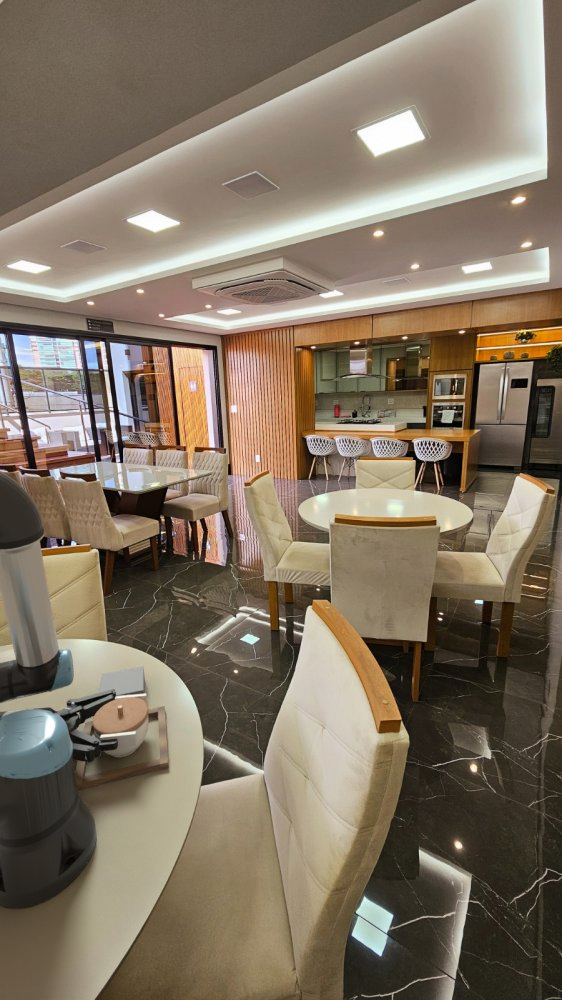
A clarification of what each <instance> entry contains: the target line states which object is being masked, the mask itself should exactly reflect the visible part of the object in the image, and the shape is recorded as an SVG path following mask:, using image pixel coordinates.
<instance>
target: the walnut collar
mask: <svg viewBox="0 0 562 1000" xmlns="http://www.w3.org/2000/svg"><path fill="white" fill-rule="evenodd" d="M151 718H157V719H158V745H159V757H158V758H155V759H152V760H148V761H143V762H138V763H133V764H130V765H126V766H121V767H117V768H113V769H111V770H105V771H101V772H97V773H94V774H89V775H86V771H87V770H86V769H87V763H88V762H85V761H79V760H76V761H77V762H76V767H75V775H76V781H77V788H78V791H79V790H82V789H86V788H87V789H88V788H90V787H95V786H99V785H102V784H107V783H110V782H115V781H118V780H122V779H127V778H132V777H135V776H140V775H144V774H147V773H151V772H155V771H160V770H162V769H163V770H164V769H166V768H167V769H168V768H169V754H168V752H169V751H168V737H167V722H166V706H165V705H162V706H157V707H153V708H148V719H151ZM93 731H94V728H93V720H91V721H85V722H84V725H83V730H82V732H83V733H86V734H88V735H90V736H92V732H93ZM85 754H86V753H85Z"/></svg>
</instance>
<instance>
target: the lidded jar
mask: <svg viewBox="0 0 562 1000" xmlns="http://www.w3.org/2000/svg"><path fill="white" fill-rule="evenodd" d="M148 709H149V705H147V704H146V702H145V701H143V700H142V699H140V698H136V697H124V698H119V699H116V700H113V701H111V702H109V703H107V704H105V705H104V706H103V707H101V708H100V709H99V710H98V711H97V712H96V714H95V715H94V716H93V717H92V721H93V728H94V730H93V731H94V737H95V738H97V739H99V740H100V736H101V735H104V734H114V733H124V732H133V731H136V736H137V746H133V747H123V748H117V749H115V750H108V751H103V752H104V753H105V754H106V755H110V756H111V757H114V758H120V759H121V758H125V757H129V756H130V755H132V754H133V753H135V752H136V751H137V750H138V748H139V747H140V746H141V745H142V744H143V742H144V740H145V738H146V737H147V733H148V730H149V719H150V718H148Z"/></svg>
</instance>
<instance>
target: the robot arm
mask: <svg viewBox="0 0 562 1000" xmlns="http://www.w3.org/2000/svg"><path fill="white" fill-rule="evenodd" d="M44 537H45V528H44V521H43V518H42V514H41V512H40V510H39V508H38V505H37V504H36V501H34V499H33V498H32V496H31V495H30V494H29V493H28V492H27V491H26V489H25V488H24V487H23V486H22V485H21V484H20V483H18V481H16V480H15V479H14V478H12V477H11V476H10V475H8V474H6V472H3V471H2V470H0V598H1V601H2V605H3V610H4V613H5V618H6V622H7V628H8V630H9V631H8V632H9V636H10V641H11V643H12V648H13V653H14V656H15V659H13V660H8V661H7V660H6V661H3V662H0V704H2V703H6V702H10V701H14V700H18V699H23V698H26V697H31V696H35V695H39V694H44V693H49V692H50V693H51V692H53V691H56V690H59V689H63V688H65V687H69V686H70V685H72V684H73V681H74V676H75V673H74V658H73V653H72V651H71V649H69V648H59V642H58V637H57V630H56V625H55V620H54V614H53V609H52V608H53V607H52V604H51V603H52V602H51V597H50V591H49V586H48V580H47V575H46V569H45V563H44V559H43V552H42V547H41V541H42V539H43V538H44ZM109 695H110V696H109ZM124 697H136V698H140V699H142V700H143V701H145V702H146V704H147V705H148V694H147V693H146V692H145V694H135V695H130V694H129V695H119V696H118V695H116V691H115V689H111V690H108V691H104V692H100V693H99V692H97V693H94V694H90V695H86V696H83V697H79V698H70V699H67V700H66V701H65V702H66V706H65V708H63V709H61V710H58V711H56V710H55V709H53V708H52V707H49V706H48V707H37V708H31V709H30V708H24V709H17V710H16V709H15V710H8V711H7V710H6V711H0V906H2V907H4V908H9V909H22V908H29V907H33V906H36V905H39V904H41V903H43V902H46V901H48V900H50V899H51V898H53V897H55V896H56V895H58V894H60V893H61V892H62V891H64V890H65V889H66V888H67V887H68V886H70V885H71V884H72V883H73V882H74V881H75V880H76V878H78V876H79V875H80V874H81V873H82V871H83V870H84V869H85V868H86V866H87V865H88V863H89V862H90V860H91V857H92V855H93V853H94V851H95V848H96V845H97V844H96V843H97V827H96V822H95V817H94V815H93V812H92V811H91V809H90V808H89V807H88V805H87V804H86V802H85V800H83V798H82V797H81V796H80V794H79V790H78V788H77V781H76V775H75V772H76V768H75V765H74V761H78V760H79V761H85V762H87V763H92V762H93V761H94V760H95V759H96V758H99V757H100V756H101V755H102V753H101V752H104V751H108V750H115V749H117V748H123V747H133V746H137V736H136V731H133V732H124V733H114V734H104V735H101V736H100V740H99V739H97V738H96V737H95V736H93V735H91V736H90V735H88V734H86V733H83V731H81V730H78V728H79V727H80V725H82V724H85V723H86V720H89V719H90V718H93V717H94V715H95V714H96V712H97V711H98V710H99V709H100V708H101V707H103V706H104V705H105V704H107V703H109V702H111V701H113V700H116V699H119V698H124ZM148 706H149V705H148ZM78 713H79V714H78ZM85 753H86V754H85Z"/></svg>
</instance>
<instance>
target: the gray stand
mask: <svg viewBox="0 0 562 1000" xmlns="http://www.w3.org/2000/svg"><path fill="white" fill-rule="evenodd" d="M144 668H145V667H144V666H138V667H132V668H131V667H130V668H126V669H121V670H115V671H111V672H109V671H108V672H106V673H101V674H100V675H101V676H100V680H99V681H100V682H99V688H98V693H100V692H104V691H108V690H111V689H115V691H116V695H118V696H119V695H129V694H130V695H135V694H146V686H145V685H146V678H145V677H146V676H145V669H144ZM109 696H110V695H109Z"/></svg>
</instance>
